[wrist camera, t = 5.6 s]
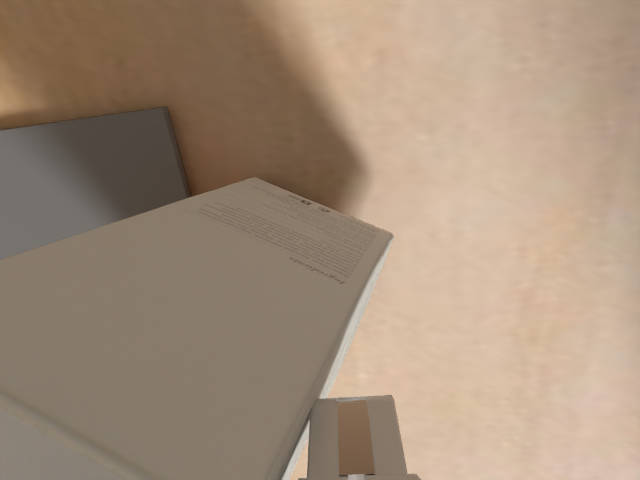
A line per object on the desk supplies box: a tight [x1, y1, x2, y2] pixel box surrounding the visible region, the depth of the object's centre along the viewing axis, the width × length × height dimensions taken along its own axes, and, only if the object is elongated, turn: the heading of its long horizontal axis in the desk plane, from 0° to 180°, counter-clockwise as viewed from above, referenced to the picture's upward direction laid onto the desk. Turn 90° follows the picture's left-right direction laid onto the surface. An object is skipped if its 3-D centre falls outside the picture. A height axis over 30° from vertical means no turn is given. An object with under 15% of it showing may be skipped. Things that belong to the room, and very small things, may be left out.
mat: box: [0, 107, 191, 260], centre depth 20 cm, size 10×16×1 cm, turn 7°
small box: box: [0, 177, 394, 480], centre depth 12 cm, size 8×6×13 cm
